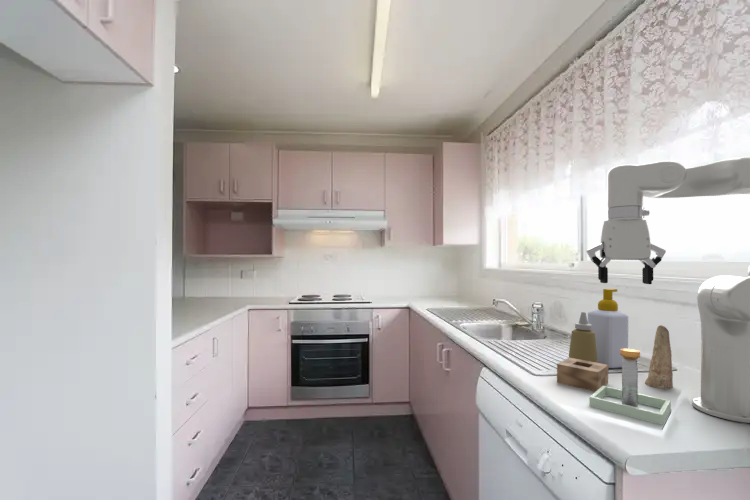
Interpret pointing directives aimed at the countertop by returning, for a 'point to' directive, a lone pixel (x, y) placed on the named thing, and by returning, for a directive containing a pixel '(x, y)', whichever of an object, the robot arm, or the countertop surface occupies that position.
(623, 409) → the tray
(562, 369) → the socket block
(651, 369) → the tapered stone wedge
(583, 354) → the squeeze bottle
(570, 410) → the countertop surface
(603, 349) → the soap bottle
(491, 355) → the countertop surface
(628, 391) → the pin
